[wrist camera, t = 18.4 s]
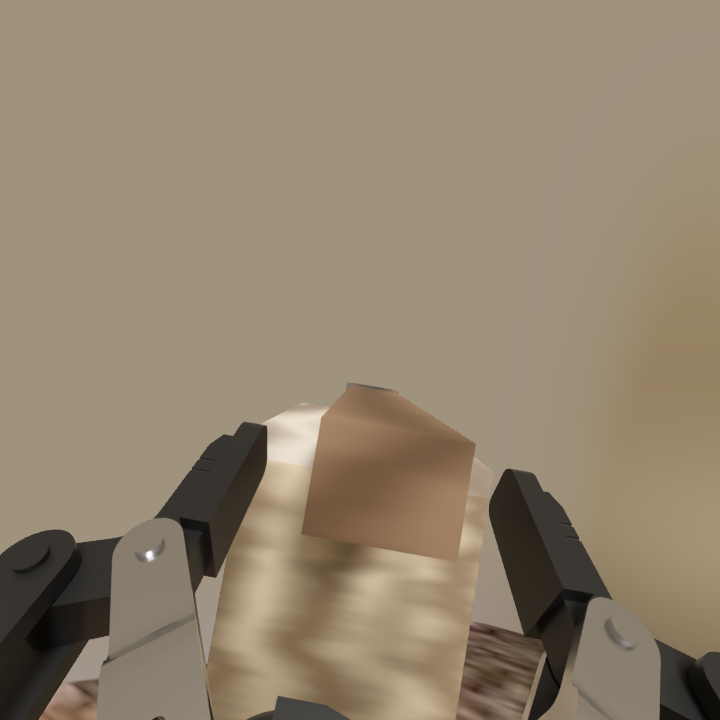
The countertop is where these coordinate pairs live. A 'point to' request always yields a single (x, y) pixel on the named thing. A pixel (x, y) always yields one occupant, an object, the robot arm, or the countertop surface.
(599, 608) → the robot arm
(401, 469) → the tan wooden plank
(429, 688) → the stand
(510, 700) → the countertop surface
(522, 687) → the countertop surface
